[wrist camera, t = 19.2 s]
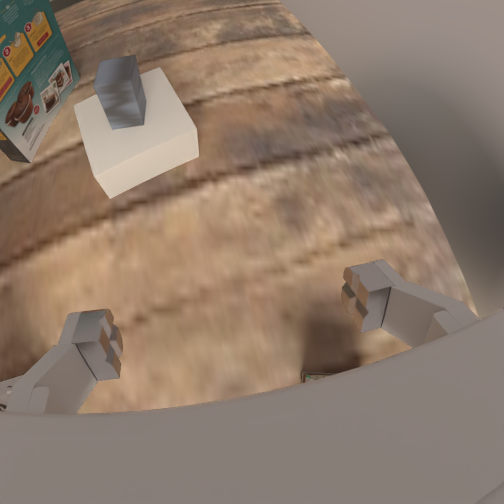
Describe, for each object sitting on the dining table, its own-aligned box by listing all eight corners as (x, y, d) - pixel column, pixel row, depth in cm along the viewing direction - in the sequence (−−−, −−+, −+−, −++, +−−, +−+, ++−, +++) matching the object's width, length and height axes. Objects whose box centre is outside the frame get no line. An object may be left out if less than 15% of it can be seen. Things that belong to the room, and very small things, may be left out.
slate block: (112, 129, 42) (93, 85, 32) (116, 105, 43) (100, 61, 33) (144, 125, 42) (130, 79, 33) (146, 100, 44) (135, 54, 34)
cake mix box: (59, 78, 53) (15, -23, 24) (80, 78, 53) (38, -31, 25) (11, 160, 47) (-70, 65, 18) (30, 163, 47) (-53, 59, 19)
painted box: (110, 199, 47) (94, 176, 40) (87, 131, 50) (73, 105, 43) (199, 157, 51) (196, 128, 43) (165, 96, 54) (160, 66, 46)
